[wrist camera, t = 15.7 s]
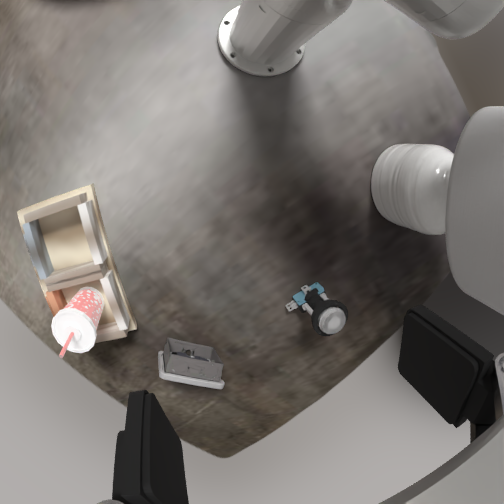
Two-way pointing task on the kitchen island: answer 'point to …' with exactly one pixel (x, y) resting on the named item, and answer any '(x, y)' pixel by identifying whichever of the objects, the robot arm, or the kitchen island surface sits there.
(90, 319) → the beverage cup
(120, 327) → the socket board
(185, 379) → the electrical switch
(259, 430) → the kitchen island surface
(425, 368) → the robot arm
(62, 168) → the kitchen island surface
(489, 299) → the lamp
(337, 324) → the push button
